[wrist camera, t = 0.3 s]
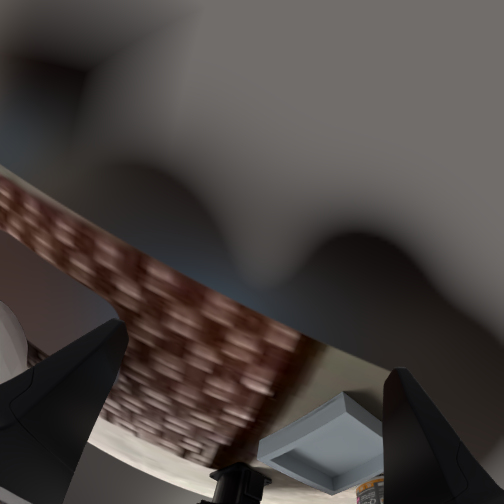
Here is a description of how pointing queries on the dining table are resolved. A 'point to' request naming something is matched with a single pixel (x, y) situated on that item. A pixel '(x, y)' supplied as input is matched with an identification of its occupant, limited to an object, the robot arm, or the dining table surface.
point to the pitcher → (11, 345)
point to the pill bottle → (371, 491)
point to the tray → (328, 446)
